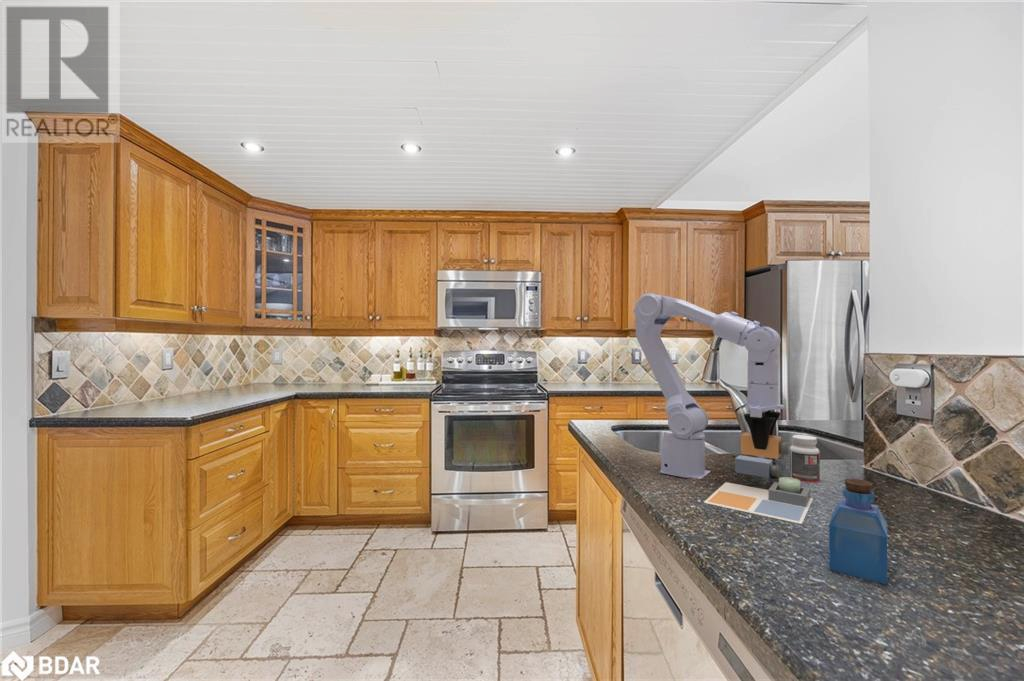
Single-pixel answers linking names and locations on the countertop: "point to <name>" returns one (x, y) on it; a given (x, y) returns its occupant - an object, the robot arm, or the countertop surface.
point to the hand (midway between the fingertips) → (762, 446)
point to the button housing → (789, 496)
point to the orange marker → (772, 450)
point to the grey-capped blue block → (756, 467)
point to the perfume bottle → (858, 534)
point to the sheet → (756, 502)
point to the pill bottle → (805, 459)
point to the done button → (789, 484)
